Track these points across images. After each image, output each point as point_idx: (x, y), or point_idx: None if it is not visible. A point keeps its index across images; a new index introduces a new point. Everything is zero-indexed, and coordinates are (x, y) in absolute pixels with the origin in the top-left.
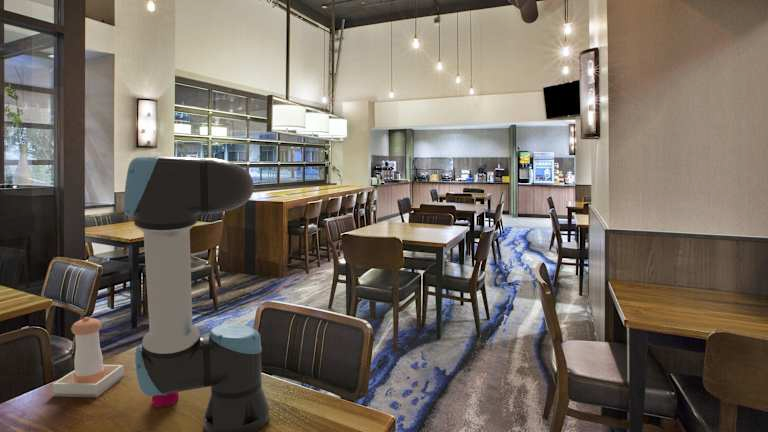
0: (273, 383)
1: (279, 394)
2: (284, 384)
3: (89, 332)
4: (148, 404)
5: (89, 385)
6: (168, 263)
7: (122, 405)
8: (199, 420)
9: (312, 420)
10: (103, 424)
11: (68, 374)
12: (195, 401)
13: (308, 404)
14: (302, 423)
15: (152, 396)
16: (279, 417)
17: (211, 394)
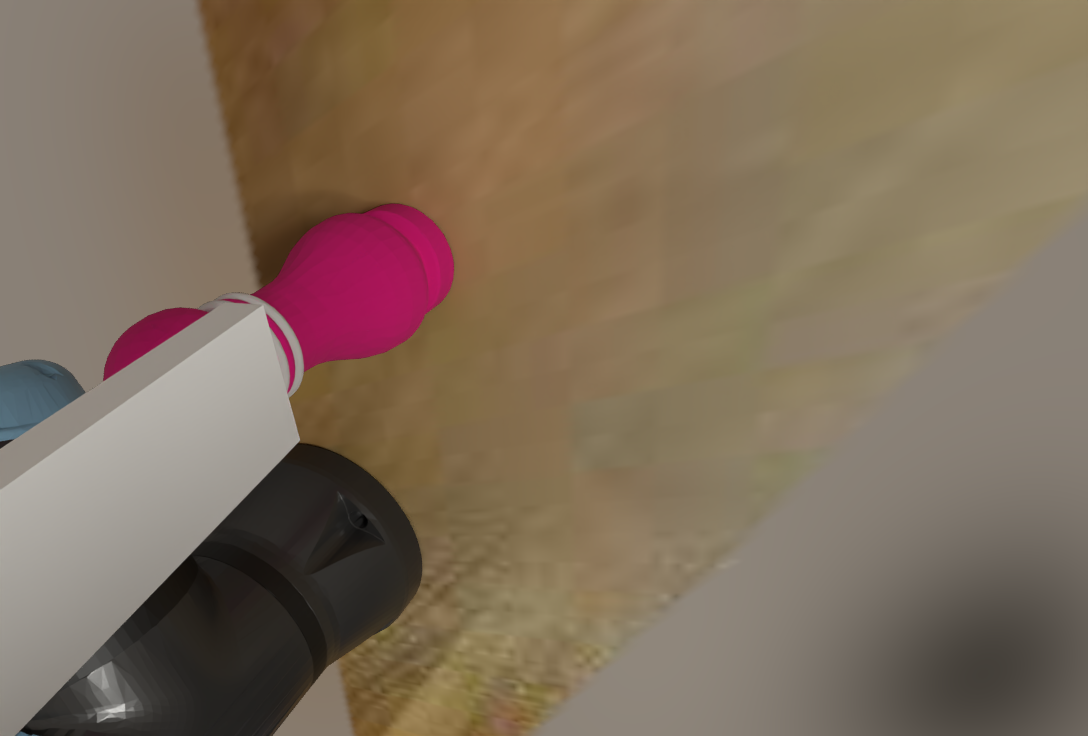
0: (576, 646)
1: (495, 654)
2: (569, 678)
3: None
4: (372, 191)
5: None
6: None
7: (347, 64)
8: (311, 422)
9: (366, 706)
10: (217, 69)
11: None
12: (418, 382)
13: (442, 716)
14: (350, 683)
15: (371, 211)
16: None
17: (208, 535)
